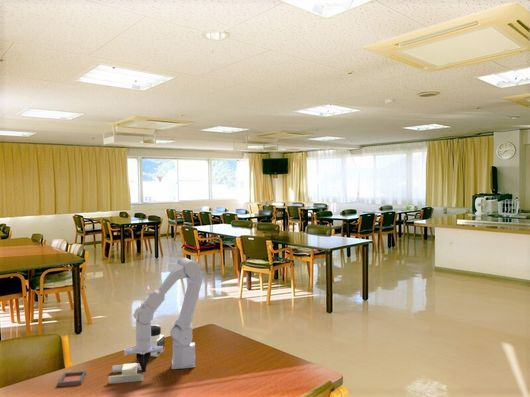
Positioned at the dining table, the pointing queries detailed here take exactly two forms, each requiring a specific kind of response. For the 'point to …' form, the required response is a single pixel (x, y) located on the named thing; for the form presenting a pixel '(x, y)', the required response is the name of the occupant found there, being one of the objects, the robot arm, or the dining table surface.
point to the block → (129, 369)
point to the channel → (124, 377)
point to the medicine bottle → (157, 339)
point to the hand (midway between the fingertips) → (143, 371)
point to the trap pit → (72, 378)
